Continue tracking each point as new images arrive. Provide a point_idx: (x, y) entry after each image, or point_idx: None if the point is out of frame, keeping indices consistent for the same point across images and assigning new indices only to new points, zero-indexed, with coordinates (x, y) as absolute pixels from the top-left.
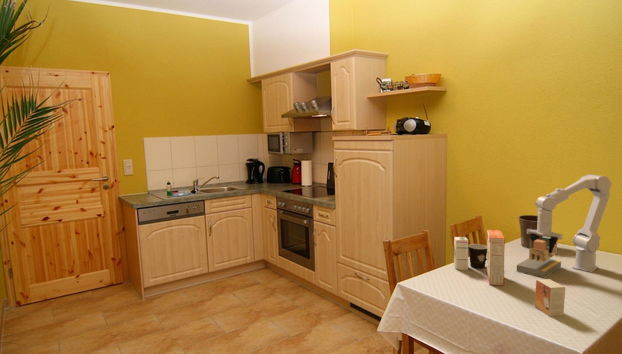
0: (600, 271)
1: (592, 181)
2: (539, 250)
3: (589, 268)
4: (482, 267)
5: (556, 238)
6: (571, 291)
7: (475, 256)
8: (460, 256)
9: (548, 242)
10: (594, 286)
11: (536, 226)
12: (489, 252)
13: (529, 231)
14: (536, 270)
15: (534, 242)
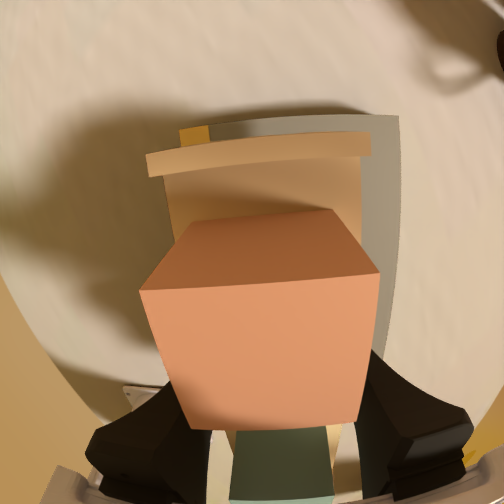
0: (121, 407)
1: None
2: (199, 145)
3: (135, 402)
4: (500, 40)
5: (101, 482)
6: (36, 71)
7: None
8: None
9: (256, 460)
10: (21, 223)
11: None
12: None
13: (494, 486)
14: (245, 120)
15: (350, 258)
